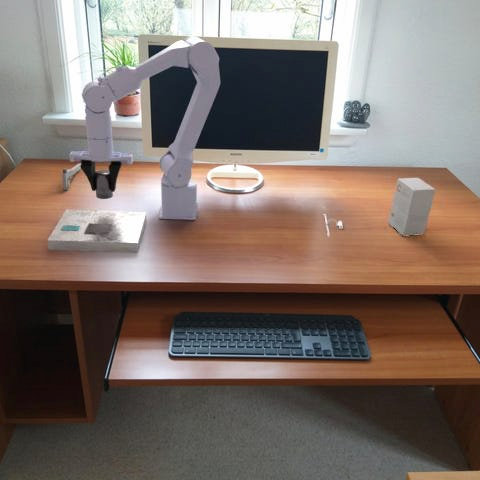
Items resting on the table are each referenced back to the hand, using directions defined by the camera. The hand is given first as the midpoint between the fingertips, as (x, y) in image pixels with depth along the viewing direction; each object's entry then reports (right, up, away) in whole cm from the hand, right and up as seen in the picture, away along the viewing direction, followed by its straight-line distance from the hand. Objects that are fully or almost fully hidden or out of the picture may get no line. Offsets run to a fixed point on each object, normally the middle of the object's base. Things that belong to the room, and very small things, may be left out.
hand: (104, 189), depth 124 cm
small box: (+77, -10, +9) cm, 79 cm away
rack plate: (0, -11, -3) cm, 11 cm away
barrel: (0, -1, +1) cm, 2 cm away
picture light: (+58, -9, +9) cm, 60 cm away
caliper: (-17, +6, +27) cm, 33 cm away
